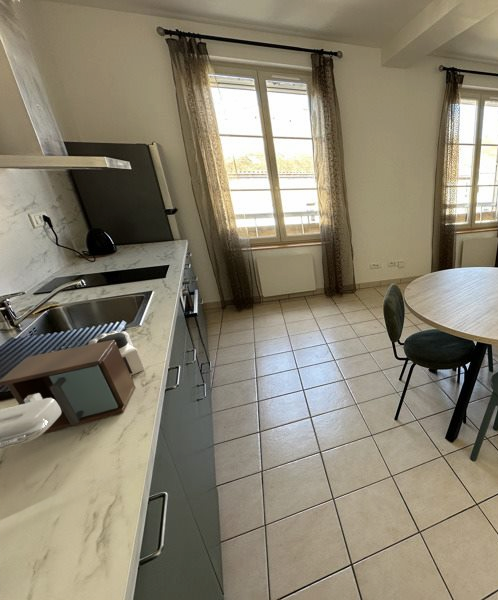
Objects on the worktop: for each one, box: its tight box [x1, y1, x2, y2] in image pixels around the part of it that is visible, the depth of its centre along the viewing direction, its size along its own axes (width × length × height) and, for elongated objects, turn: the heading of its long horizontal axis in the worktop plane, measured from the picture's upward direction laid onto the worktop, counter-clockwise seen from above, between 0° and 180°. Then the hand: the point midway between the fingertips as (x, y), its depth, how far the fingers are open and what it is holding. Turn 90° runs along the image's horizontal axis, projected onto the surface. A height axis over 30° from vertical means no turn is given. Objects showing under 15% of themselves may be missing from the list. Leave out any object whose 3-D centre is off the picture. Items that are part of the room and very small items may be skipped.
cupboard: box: [0, 340, 137, 436], centre depth 84 cm, size 18×12×16 cm, turn 114°
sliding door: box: [49, 365, 118, 426], centre depth 79 cm, size 9×5×13 cm, turn 114°
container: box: [97, 333, 145, 377], centre depth 100 cm, size 8×8×13 cm
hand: (2, 405), depth 60 cm, fingers open, 8 cm apart
